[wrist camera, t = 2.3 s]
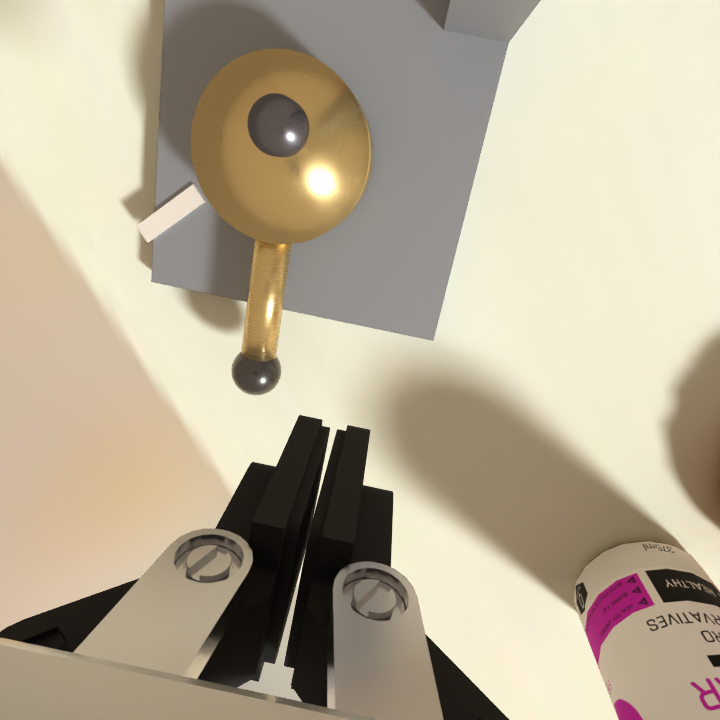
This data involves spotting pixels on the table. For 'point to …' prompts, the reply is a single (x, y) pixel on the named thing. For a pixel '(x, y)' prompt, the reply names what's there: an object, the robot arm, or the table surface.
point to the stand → (390, 140)
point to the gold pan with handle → (278, 176)
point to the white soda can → (653, 631)
